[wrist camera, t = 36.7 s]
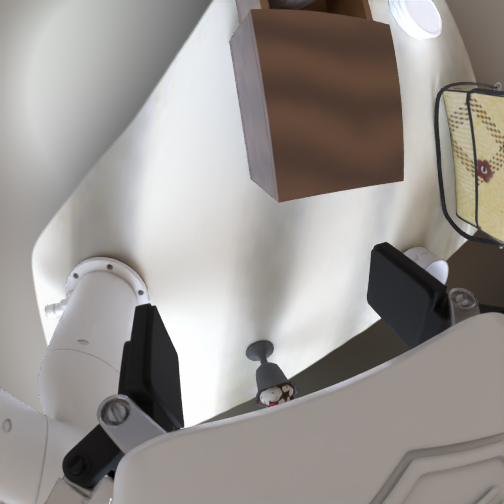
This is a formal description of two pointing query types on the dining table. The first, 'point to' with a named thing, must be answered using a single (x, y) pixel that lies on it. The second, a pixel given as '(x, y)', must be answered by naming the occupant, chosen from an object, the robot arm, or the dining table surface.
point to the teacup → (429, 262)
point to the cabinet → (318, 102)
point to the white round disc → (417, 17)
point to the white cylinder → (289, 4)
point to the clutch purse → (475, 158)
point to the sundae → (270, 377)
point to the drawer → (314, 7)
